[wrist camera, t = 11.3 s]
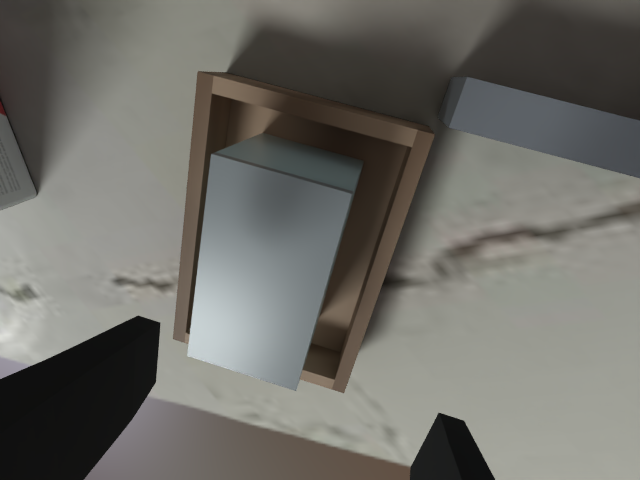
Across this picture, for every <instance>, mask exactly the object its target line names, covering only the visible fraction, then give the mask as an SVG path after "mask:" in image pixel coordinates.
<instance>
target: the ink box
mask: <svg viewBox="0 0 640 480" xmlns="http://www.w3.org/2000/svg"><path fill="white" fill-rule="evenodd" d="M36 194H37V193H36V189H35V187H34V184H33V182H32V180H31V177H30V175H29V172H28V169H27V167H26V164H25V162H24V159H23V157H22V154H21V152H20V149H19V147H18V144H17V142H16V139H15V136H14V134H13V131H12V129H11V126H10V124H9V121H8V119H7V116H6V113H5V111H4V108H3V106H2V103H1V101H0V210H3V209H6V208H9V207H11V206H14V205H17V204H19V203H22V202H25V201H27V200H30V199H33V198H35V197H36Z"/></svg>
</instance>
